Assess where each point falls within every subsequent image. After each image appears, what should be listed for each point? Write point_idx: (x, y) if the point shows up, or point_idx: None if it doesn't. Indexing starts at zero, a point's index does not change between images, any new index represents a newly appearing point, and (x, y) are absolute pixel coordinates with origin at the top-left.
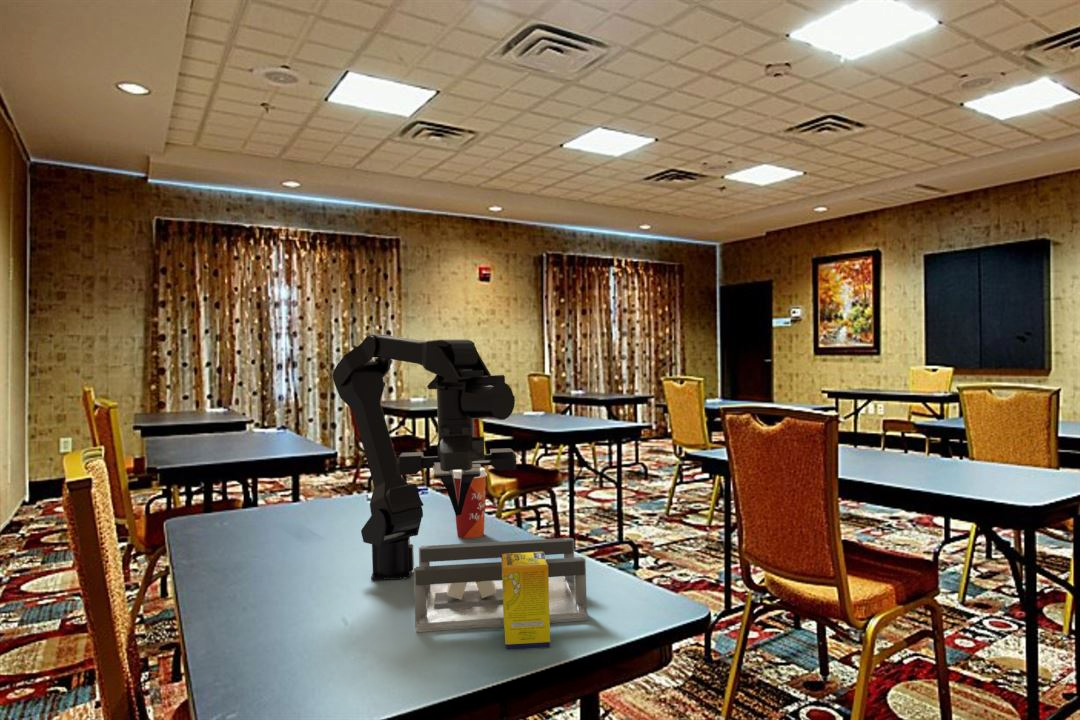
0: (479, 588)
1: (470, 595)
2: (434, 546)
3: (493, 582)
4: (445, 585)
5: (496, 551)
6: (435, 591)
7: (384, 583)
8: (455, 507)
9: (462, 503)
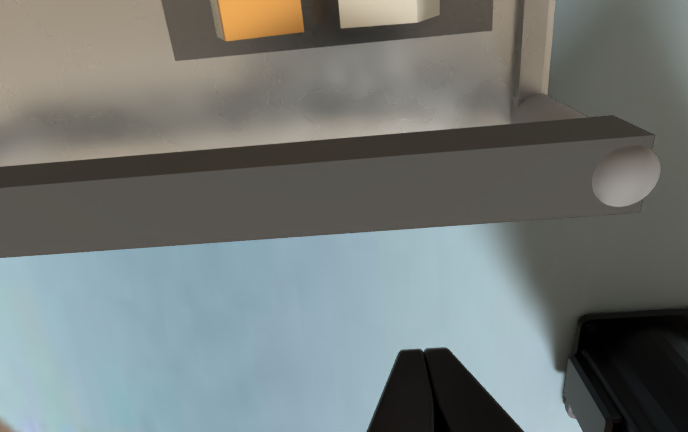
0: None
1: None
2: (556, 192)
3: (212, 4)
4: None
5: (177, 162)
6: (488, 99)
7: (668, 281)
8: (464, 392)
9: (387, 425)
